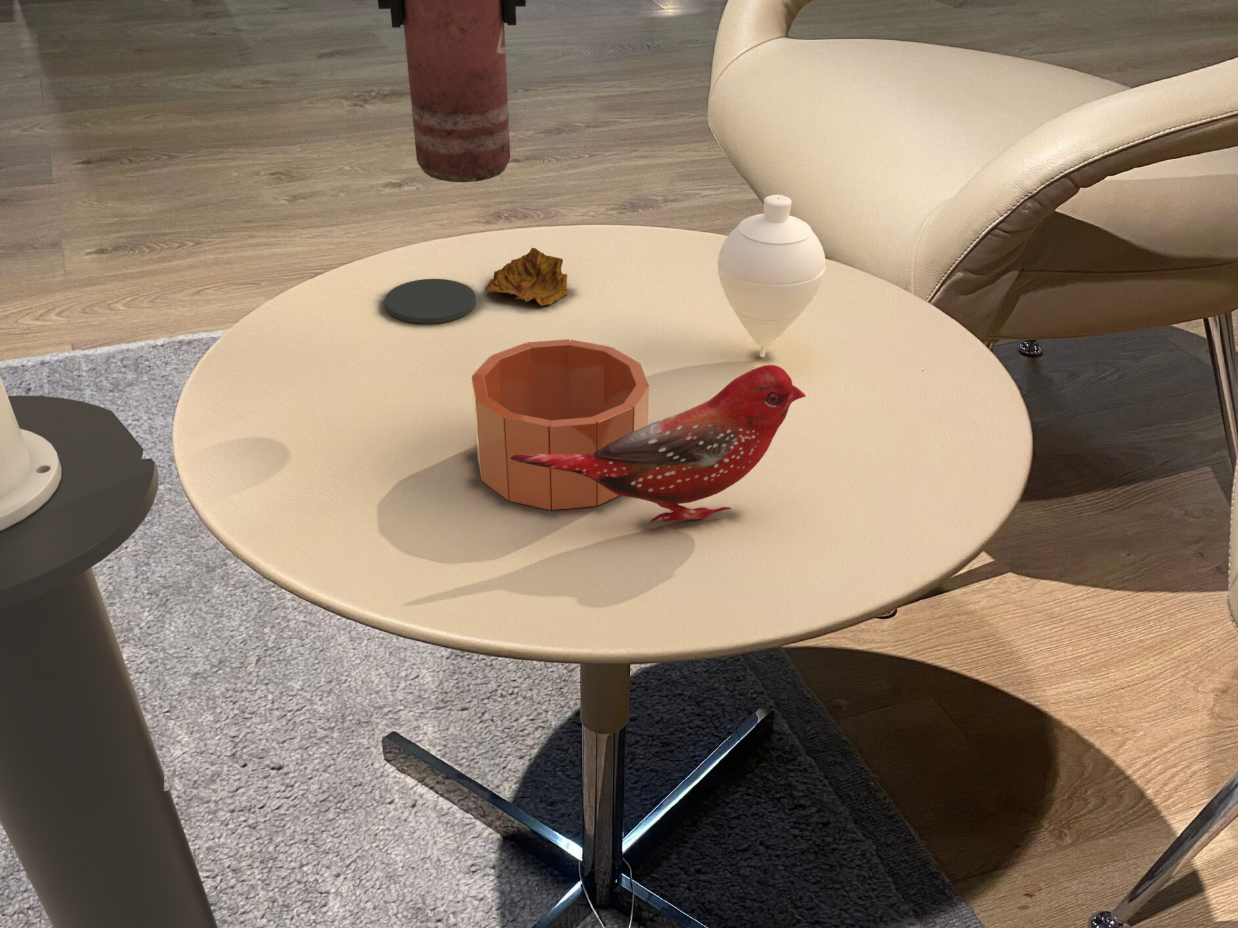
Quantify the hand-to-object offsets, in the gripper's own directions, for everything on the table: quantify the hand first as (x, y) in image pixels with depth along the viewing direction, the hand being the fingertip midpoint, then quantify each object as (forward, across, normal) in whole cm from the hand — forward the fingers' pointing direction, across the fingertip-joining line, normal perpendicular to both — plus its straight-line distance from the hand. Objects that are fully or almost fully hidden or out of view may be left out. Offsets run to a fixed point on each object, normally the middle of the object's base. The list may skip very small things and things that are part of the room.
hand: (453, 17), depth 73 cm
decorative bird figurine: (+24, -10, +22) cm, 34 cm away
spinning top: (+23, -21, +2) cm, 32 cm away
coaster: (+23, +3, -10) cm, 26 cm away
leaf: (+23, -5, -12) cm, 27 cm away
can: (+9, 0, 0) cm, 9 cm away
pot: (+23, -5, +14) cm, 28 cm away
